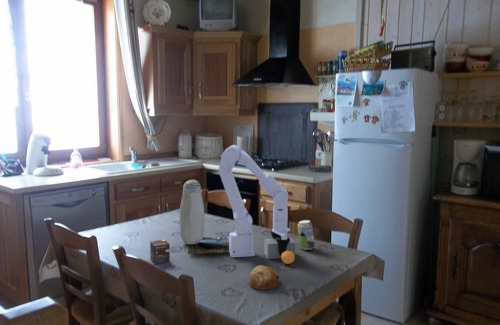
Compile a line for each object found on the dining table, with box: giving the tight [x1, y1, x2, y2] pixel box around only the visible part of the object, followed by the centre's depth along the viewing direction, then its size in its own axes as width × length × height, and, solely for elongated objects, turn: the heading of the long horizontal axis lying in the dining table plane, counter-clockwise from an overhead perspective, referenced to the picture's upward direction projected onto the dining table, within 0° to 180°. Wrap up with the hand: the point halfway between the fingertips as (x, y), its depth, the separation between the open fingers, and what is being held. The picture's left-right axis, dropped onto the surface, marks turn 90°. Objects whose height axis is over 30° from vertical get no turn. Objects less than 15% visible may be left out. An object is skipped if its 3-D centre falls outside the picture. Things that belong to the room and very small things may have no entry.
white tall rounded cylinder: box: [179, 179, 205, 245], centre depth 174 cm, size 10×10×28 cm
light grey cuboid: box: [263, 237, 296, 260], centre depth 163 cm, size 11×6×6 cm, turn 100°
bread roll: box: [248, 265, 280, 291], centre depth 137 cm, size 10×10×8 cm
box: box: [149, 239, 171, 265], centre depth 156 cm, size 6×6×7 cm
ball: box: [280, 251, 296, 265], centre depth 155 cm, size 5×5×5 cm
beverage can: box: [297, 219, 315, 251], centre depth 171 cm, size 6×7×12 cm
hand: (279, 251), depth 163 cm, fingers open, 7 cm apart
